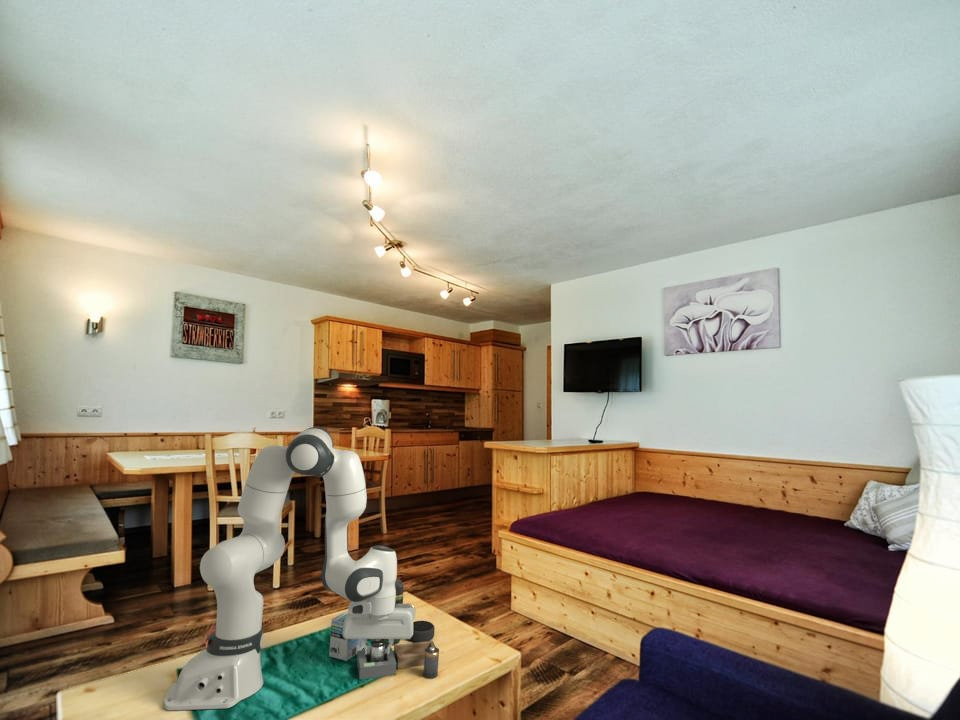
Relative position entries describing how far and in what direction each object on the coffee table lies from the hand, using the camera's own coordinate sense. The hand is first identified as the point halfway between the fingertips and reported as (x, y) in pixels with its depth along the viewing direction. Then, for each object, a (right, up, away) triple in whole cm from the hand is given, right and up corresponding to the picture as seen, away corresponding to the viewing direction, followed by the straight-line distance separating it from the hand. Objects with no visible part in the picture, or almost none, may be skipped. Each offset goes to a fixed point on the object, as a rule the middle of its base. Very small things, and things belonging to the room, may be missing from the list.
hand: (377, 653), depth 139 cm
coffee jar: (0, -6, +17) cm, 19 cm away
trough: (+10, -5, +5) cm, 13 cm away
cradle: (0, -4, 0) cm, 4 cm away
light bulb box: (-11, -5, +9) cm, 15 cm away
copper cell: (+16, -4, -3) cm, 17 cm away
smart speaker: (+10, -7, +20) cm, 23 cm away
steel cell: (0, -3, 0) cm, 3 cm away
